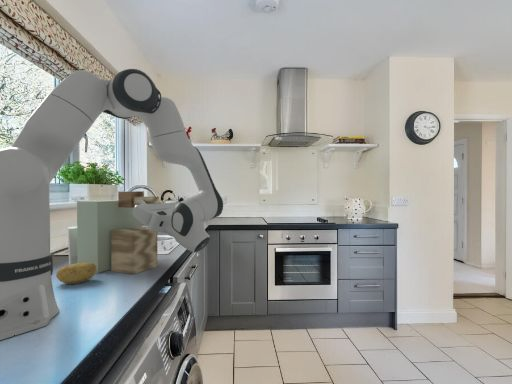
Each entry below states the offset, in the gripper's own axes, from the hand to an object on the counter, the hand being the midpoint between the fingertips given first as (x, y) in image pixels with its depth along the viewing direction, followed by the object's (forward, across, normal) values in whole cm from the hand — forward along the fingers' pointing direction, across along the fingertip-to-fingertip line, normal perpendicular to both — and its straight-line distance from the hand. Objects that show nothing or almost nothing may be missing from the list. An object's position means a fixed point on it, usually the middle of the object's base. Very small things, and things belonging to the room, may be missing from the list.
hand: (146, 200), depth 106 cm
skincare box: (+14, +5, +39) cm, 42 cm away
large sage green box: (+4, 0, +32) cm, 33 cm away
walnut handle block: (+2, 0, +4) cm, 4 cm away
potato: (-4, +20, +28) cm, 35 cm away
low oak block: (-8, 0, +26) cm, 27 cm away
